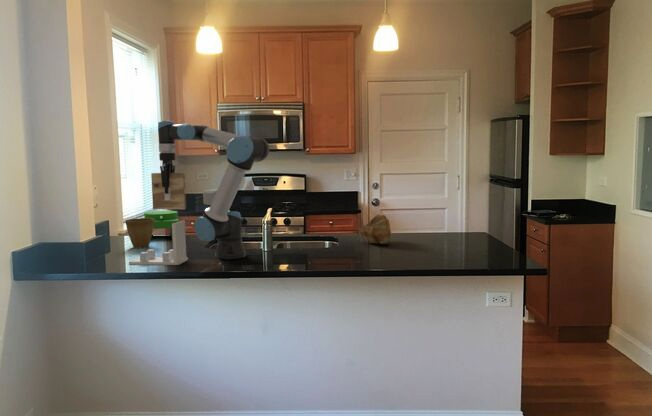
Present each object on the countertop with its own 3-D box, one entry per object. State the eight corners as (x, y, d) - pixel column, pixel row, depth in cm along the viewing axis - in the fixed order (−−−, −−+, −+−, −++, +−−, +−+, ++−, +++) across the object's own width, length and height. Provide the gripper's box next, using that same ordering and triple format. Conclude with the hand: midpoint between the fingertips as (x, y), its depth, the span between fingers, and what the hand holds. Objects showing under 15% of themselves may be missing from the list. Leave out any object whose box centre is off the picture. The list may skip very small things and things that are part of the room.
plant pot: (161, 247, 297) (159, 218, 295) (140, 251, 284) (139, 221, 282) (141, 245, 304) (140, 217, 302) (120, 249, 291) (119, 220, 289)
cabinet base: (178, 264, 246) (176, 223, 244) (129, 264, 249) (126, 223, 247) (187, 259, 258) (186, 220, 256) (140, 259, 261) (138, 220, 259)
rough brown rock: (357, 239, 313) (357, 214, 312) (386, 238, 314) (385, 213, 313) (362, 246, 290) (362, 218, 289) (392, 245, 291) (392, 218, 289)
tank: (136, 245, 304) (135, 217, 302) (137, 237, 337) (136, 211, 335) (181, 243, 312) (179, 215, 310) (177, 234, 344) (176, 209, 343)
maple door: (182, 209, 262) (181, 172, 260) (151, 209, 264) (149, 173, 262) (186, 208, 267) (184, 172, 265) (155, 208, 269) (153, 173, 267)
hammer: (216, 242, 310) (215, 190, 307) (204, 242, 311) (202, 190, 308) (225, 238, 325) (223, 189, 322) (213, 238, 326) (211, 189, 323)
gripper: (167, 152, 255) (169, 201, 257) (180, 152, 271) (182, 198, 273) (152, 152, 256) (155, 201, 258) (166, 152, 272) (168, 198, 274)
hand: (169, 199), depth 266 cm, fingers closed on maple door, 3 cm apart
